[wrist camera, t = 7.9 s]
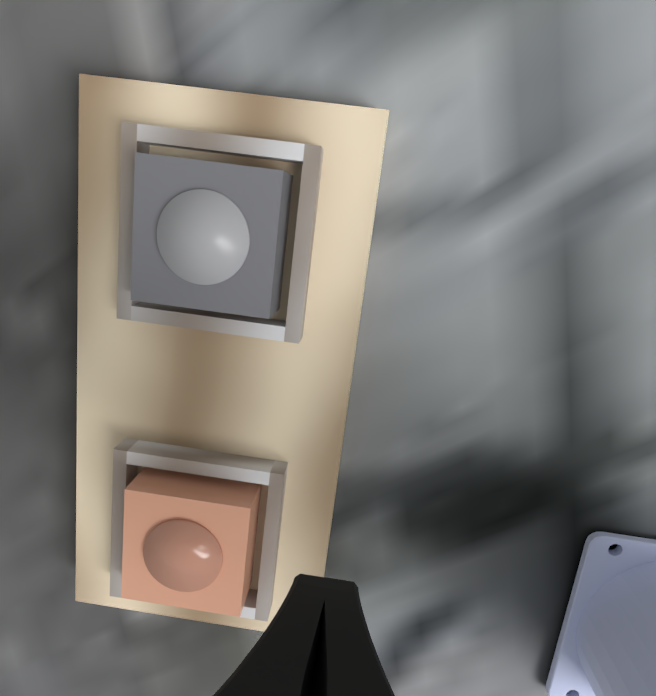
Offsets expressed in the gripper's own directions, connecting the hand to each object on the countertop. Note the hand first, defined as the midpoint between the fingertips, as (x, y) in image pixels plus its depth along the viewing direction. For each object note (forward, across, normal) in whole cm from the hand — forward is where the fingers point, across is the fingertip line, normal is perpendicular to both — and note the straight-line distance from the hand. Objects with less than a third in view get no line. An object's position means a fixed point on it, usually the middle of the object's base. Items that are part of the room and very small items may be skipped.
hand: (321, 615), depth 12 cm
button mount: (+9, +5, -2) cm, 11 cm away
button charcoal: (+8, +5, -8) cm, 12 cm away
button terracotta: (+8, +5, +4) cm, 10 cm away
